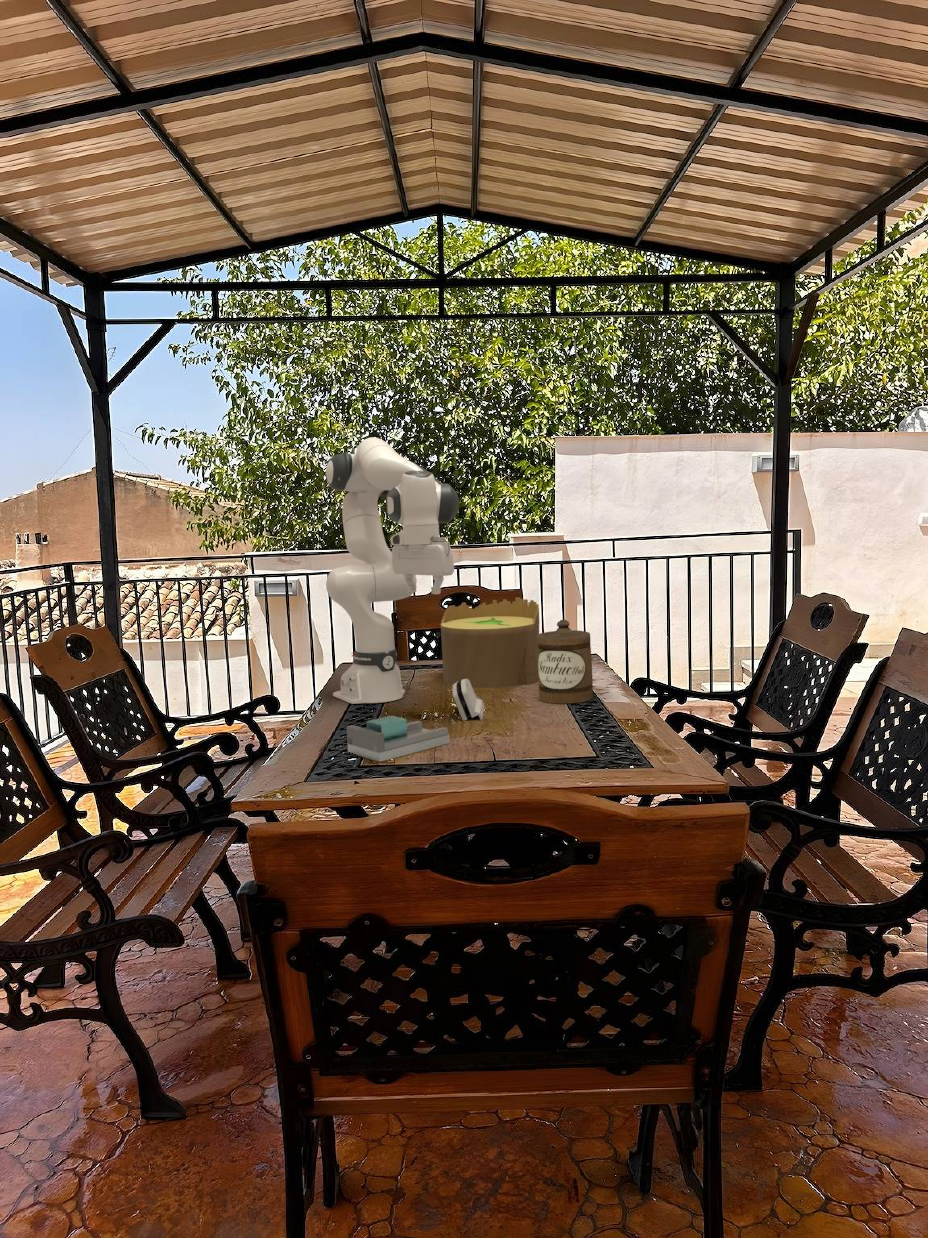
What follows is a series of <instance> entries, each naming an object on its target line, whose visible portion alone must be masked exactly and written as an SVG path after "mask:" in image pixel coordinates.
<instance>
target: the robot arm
mask: <svg viewBox="0 0 928 1238" xmlns="http://www.w3.org/2000/svg"><path fill="white" fill-rule="evenodd" d="M325 478H326V481H327V484H328V486H329V487H330V489H332V490H335V491H338V492H339V491H340V492H343V491H344V492H347V494H345V496H344V497H343V498H342V499H343V501H342V515H341V517H342V525H343V526H342V527H343V533H344V538H345V540H344V541H345V546H346V550H347V551H348V553H349V554H350V555H351V556H352V557H353V558H354V559H355V558H356V559H358V560H360V561H362V562H364V563H365V564H364V563H363V564H362V563H361V564H347V565H343V566H339V567H335V568H333V569H331V571H330V572H329V573H328V575H327V577H326V582H325V586H326V592H327V594H328V596H329V597H330V599H331V601H333V602H335V603H336V604H338V605H339V606H341V608H342V609H344V611H345V612H346V613H347V615H348V616H349V618H350V619H351V622H352V626H353V632H354V638H355V651H353V652H351V654H353V655H351V657H352V658H353V660H352V664H351V666H350V667H349V668H347V670H345V672H344V673H342V675H341V677H340V689H339V690H337V691H334V692H333V693H332V697H335V698H336V699H340V700H341V701H344V702H347V703H348V704H353V705H354V704H357V705H358V704H379V703H387V702H393V701H396V700H397V701H398V700H400V699H402V698H403V697H404V694H406V691H405V689H404V688H403V685H402V678H401V671H400V667H399V665H397V661H398V652H397V648H396V647H395V631H394V628H395V627H394V624H393V622H392V620H391V619H390V618H389V617H388V616H385V615H383V614H381V613H380V612H377V611H375V610H373V608H372V603H381V602H392V601H395V602H396V601H398V600H403V599H406V598H410V597H411V596H412V595H413V594H414V593H417V582H418V581H417V576H433V578H432V579H433V581H434V583H433V586H430V590H431V591H430V592H431V594H432V595H440V594H441V591H442V590H441V588H442V584H443V582H444V577H445V576H447V577H448V576H452V575H453V574H454V571H455V564H454V556H453V552H452V551H453V550H452V548H451V545H450V542H449V540H448V539H447V538H446V537H444V536H442V537H440V525H439V524H448V523H450V522H451V521H452V520H453V519H454V518H455V517H456V515H457V514H458V512H459V508H460V501H459V496H458V492H456V490H455V489H454V488H453V487H452V486H451V485H450V484H449V483H442V482H441V481H440V480H439V479H437V477H435V476H434V474H433V473H432V472H431V471H427V470H426V469H425V467H424V468H423V467H422V466H420V465H418V464H416V463H414V462H412V461H410V460H408V459H406V458H405V457H404V456H402V455H400V453H398V452H396V450H395V449H394V448H393V447H392V446H391V445H390V444H389V443H387V442H386V441H384V439H381V438H378V437H375V436H374V437H373V436H372V437H368V438H367V437H366V438H365V439H363V440H362V441H361V442H360V443H359V444H358V445H357V448H356V452H355V453H348V452H347V451H345V452H343V453H340V454H335V455H332V457H330V458H329V459H328V462H327V465H326V468H325ZM379 498H381V499H382V500H385V502H386V503H385V505H386V506H385V507H386V515H387V516H388V518H389V519H391V521H392V522H394V523H395V524H399V525H402V530H400V531H399V532H397V533H395V534H394V535H392V536H391V537H390V543H391V545H392V546H393V547H392V549H390V548H389V547H388V544H387V542H386V538H385V535H384V532H383V526H382V521H381V516H380V512H379V508H378V507H379V506H378V500H379Z"/></svg>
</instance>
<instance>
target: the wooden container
mask: <svg viewBox="0 0 928 1238" xmlns="http://www.w3.org/2000/svg"><path fill="white" fill-rule="evenodd" d="M556 626H557V629H555V630H554V631H553V630H552V631H551V630H550V631H546V632H545V631H544V632H542V633H540V632H539V634H538V635H537V642H538V676H539V679H538V697H539V700H540V701H542V702H543V703H548V704H553V705H554V704H556V705H558V704H559V705H570V704H571V705H572V704H573V705H574V704H579V703H586V702H589V701H591V700H593V698H594V693H593V692H594V688H593V687H594V686H593V685H594V684H593V679H594V678H593V664H592V662H593V661H592V647H591V642H592V641H591V633H590V632H589V631H585V630H572V629H571V628H570V621H568V620H566V619H560V620H559V621H557V623H556Z"/></svg>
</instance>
